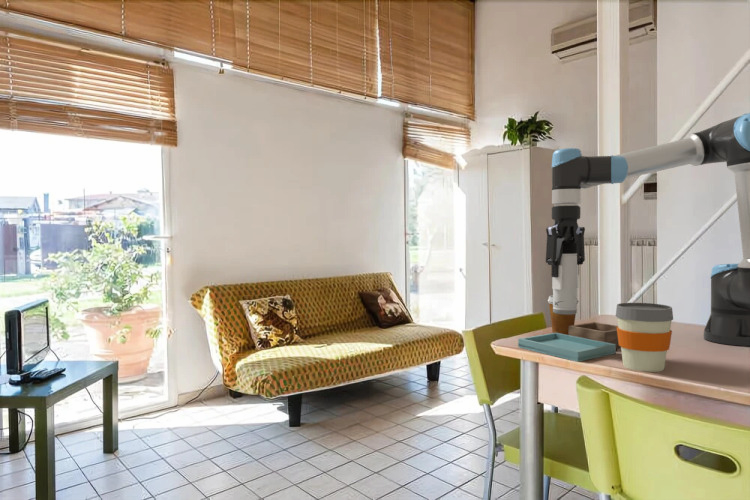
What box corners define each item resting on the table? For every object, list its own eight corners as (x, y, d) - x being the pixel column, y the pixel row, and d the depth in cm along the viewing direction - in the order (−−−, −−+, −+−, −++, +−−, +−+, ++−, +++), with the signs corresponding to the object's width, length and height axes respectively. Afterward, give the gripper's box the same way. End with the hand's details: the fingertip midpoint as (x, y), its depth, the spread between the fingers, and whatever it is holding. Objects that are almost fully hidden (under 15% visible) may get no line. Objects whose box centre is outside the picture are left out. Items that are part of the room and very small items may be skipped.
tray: (615, 353, 141) (615, 344, 141) (577, 361, 133) (577, 352, 133) (555, 340, 158) (555, 332, 158) (518, 347, 150) (518, 338, 150)
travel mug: (555, 314, 142) (555, 241, 142) (551, 311, 149) (551, 241, 148) (579, 315, 141) (579, 241, 141) (574, 311, 148) (574, 241, 147)
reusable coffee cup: (677, 375, 119) (678, 311, 119) (617, 371, 124) (617, 308, 123) (667, 362, 131) (668, 303, 131) (613, 358, 135) (613, 301, 135)
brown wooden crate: (630, 344, 152) (630, 327, 151) (604, 350, 145) (604, 332, 145) (593, 337, 162) (593, 321, 162) (568, 342, 155) (568, 326, 155)
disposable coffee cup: (580, 336, 164) (581, 298, 163) (549, 335, 165) (549, 298, 165) (575, 331, 173) (575, 295, 172) (545, 330, 175) (545, 294, 174)
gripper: (576, 206, 152) (576, 285, 153) (531, 205, 142) (531, 289, 143) (599, 205, 146) (598, 287, 147) (553, 204, 136) (553, 291, 137)
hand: (565, 288), depth 145 cm, fingers closed on travel mug, 6 cm apart
